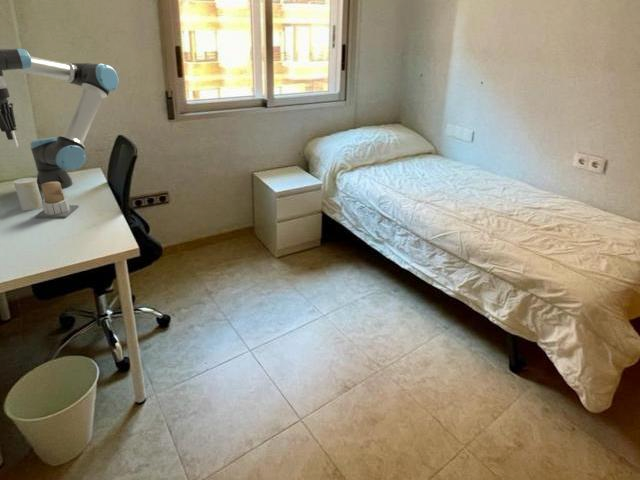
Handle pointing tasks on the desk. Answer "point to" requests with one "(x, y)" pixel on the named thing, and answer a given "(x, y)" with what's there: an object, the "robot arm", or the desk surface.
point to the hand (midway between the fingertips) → (14, 146)
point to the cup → (28, 193)
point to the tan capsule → (52, 192)
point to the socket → (56, 209)
